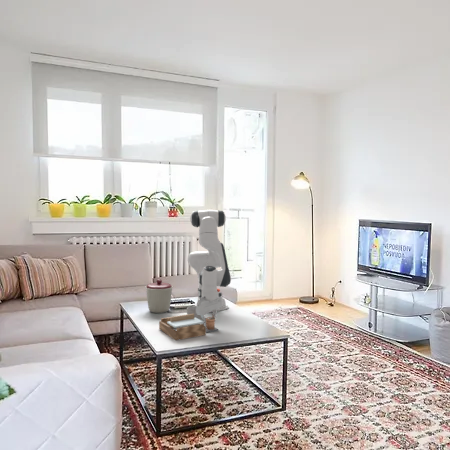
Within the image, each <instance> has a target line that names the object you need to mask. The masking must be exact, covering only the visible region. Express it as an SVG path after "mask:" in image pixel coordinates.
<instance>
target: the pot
mask: <svg viewBox="0 0 450 450" xmlns="http://www.w3.org/2000/svg"><path fill="white" fill-rule="evenodd" d="M205 318H206V321H205V327H206V329H214V328H216V327H215V326H216V325H215V324H216V322H215V321H216V317H212V316H209V317H205Z"/></svg>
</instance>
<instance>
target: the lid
mask: <svg viewBox="0 0 450 450" xmlns="http://www.w3.org/2000/svg"><path fill="white" fill-rule="evenodd" d="M169 317H170V321H169V322H167V323H168V324H169V325H171V326H173V329H175V328H176V329H177V328H181V327H188V326H190V325H196V324H204V323H205V321H202V320H200V319H198V318H194V314H187V313H186V314H181V315H174V316H169Z"/></svg>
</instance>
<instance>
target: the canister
mask: <svg viewBox="0 0 450 450" xmlns="http://www.w3.org/2000/svg"><path fill="white" fill-rule="evenodd" d="M144 288H145V289H146V300H147V306H148V310H149V312H151V313H153V314H154V313H155V314H163V313H167V312H168V311H169V310H170V306H171V301H172V291H173V288H174V286H173V284H171V283H168V282H163V281H162V279H160V278H159V279H156V282H151V283H149V284H147V285H145V286H144Z"/></svg>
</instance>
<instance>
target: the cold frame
mask: <svg viewBox="0 0 450 450" xmlns="http://www.w3.org/2000/svg"><path fill="white" fill-rule="evenodd" d="M170 317H171V316H169V317H163V318H162V317H161V318H160V320H159V323H158V328H159V329H158V330H160V331H161V330H162V331H161V332H163V333H165V334H166V335H167V336H169V337H170V338H171V339H173V340H175V341H178V340H179V339H180V340H185V339H192V338H196V337H200V336H206V325H205V324H204V323H202V324H196V325H190V326H183V327H177V328H176V329H175V328H174V327H173V326H171V325H169V324H168V323H167V322H169V321H170Z"/></svg>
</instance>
